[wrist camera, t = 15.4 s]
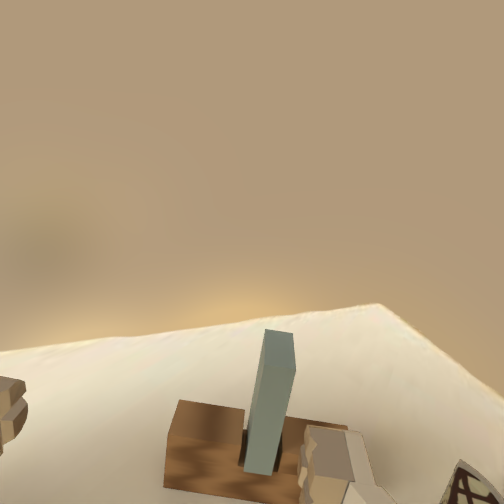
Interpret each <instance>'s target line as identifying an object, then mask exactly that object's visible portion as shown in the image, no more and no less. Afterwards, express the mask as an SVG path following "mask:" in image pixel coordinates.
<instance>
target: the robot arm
mask: <svg viewBox="0 0 504 504" xmlns="http://www.w3.org/2000/svg"><path fill="white" fill-rule="evenodd" d="M25 392H26V386H25V382H24V381H22V380H19V379H13V378H8V377H3V376H0V456H1V455H2V454H3V445H4V444H6V443H7V442H9V441H11V440H13V439H15V437H16V436H17V435H18V434H19V432H20V431H21V430H22V427H23V425H24V423H25V421H26V419H27V413H28V404H27V402H26V401H25V400H24V399H23V397H22V395H23V394H24V393H25ZM304 443H305V444H303V445H302V446H301V447H300V452H299V457H298V466H297V476H298V484H299V486H300V487H301V488H302V490H301V493H300V497H299V504H397V503H396V502H395V501H394V500H393V499H392V498H391V497H390V495H389V494H388V493H387V492H386V491H385V490H384V489H383V488H382V487H380V486H376V483H375V479H374V476H373V472H372V468H371V465H370V461H369V458H368V454H367V451H366V447H365V444H364V440H363V437H362V435H361V433H360V432H355V431H348V430H341V429H334V428H328V427H321V426H314V425H307V426H306V428H305V432H304Z"/></svg>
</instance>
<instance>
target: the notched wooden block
mask: <svg viewBox="0 0 504 504" xmlns="http://www.w3.org/2000/svg"><path fill="white" fill-rule="evenodd" d="M244 413H245V410H243V409H236V408H230V407H224V406H217V405H211V404H205V403H198V402H192V401H186V400H179V402H178V405H177V408H176V411H175V414H174V417H173V420H172V423H171V426H170V429H169V432H168V438H167V450H166V462H165V474H164V485H163V487H165V488H171V489H177V490H184V491H190V492H196V493H203V494H209V495H216V496H222V497H228V498H235V499H241V500H247V501H254V502H260V503H266V504H299V497H300V493H301V490H302V488H301V487H300V486H299V484H298V476H297V466H298V457H299V452H300V447H301V446H302V445H303V444H305V443H304V432H305V428H306V426H307V425H314V426H321V427H328V428H334V429H341V430H348V427H347V426H345V425H338V424H332V423H326V422H319V421H313V420H307V419H300V418H294V417H287V416H285V419H284V424H283V428H282V432H281V437H280V441H279V445H278V450H277V454H276V458H275V463H274V467H273V471H272V475H271V476H269V475H262V474H256V473H249V472H244V460H245V448H246V436H247V430H245V429H243V423H244Z"/></svg>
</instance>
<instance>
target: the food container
mask: <svg viewBox="0 0 504 504" xmlns="http://www.w3.org/2000/svg"><path fill="white" fill-rule="evenodd" d="M439 504H504V499H503V498H502V496H501V495H500V494H499V492H498V491H497V490H496V489H495V488H494V486H493V485H492V484H491V483H490V482H489V481H488V480H487V479H486V478H485V477H484V476H482V475H481V474H480V473H479V472H478V471H477V470H475V469H474V468H473V467H471V466H470V465H469V464H467V463H466V462H464V461H462V460H461V459H460V460H459V462H458V463H457V465H456V467H455V469H454V473H453V475H452V477H451V479H450V481H449V484H448V486H447V488H446V490H445V492H444V494H443V497H442V499H441V501H440V503H439Z"/></svg>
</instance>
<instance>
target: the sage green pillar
mask: <svg viewBox="0 0 504 504" xmlns="http://www.w3.org/2000/svg"><path fill="white" fill-rule="evenodd" d="M295 372H296V364H295V353H294V342H293V333H287V332H281V331H275V330H268V329H265V334H264V339H263V344H262V350H261V355H260V361H259V366H258V371H257V377H256V382H255V388H254V393H253V398H252V404H251V409H250V415H249V420H248V425H247V436H246V448H245V460H244V472H249V473H256V474H262V475H269V476H271V475H272V471H273V467H274V463H275V458H276V454H277V450H278V445H279V441H280V437H281V432H282V428H283V424H284V419H285V415H286V411H287V406H288V402H289V398H290V393H291V389H292V385H293V380H294V376H295Z"/></svg>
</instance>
